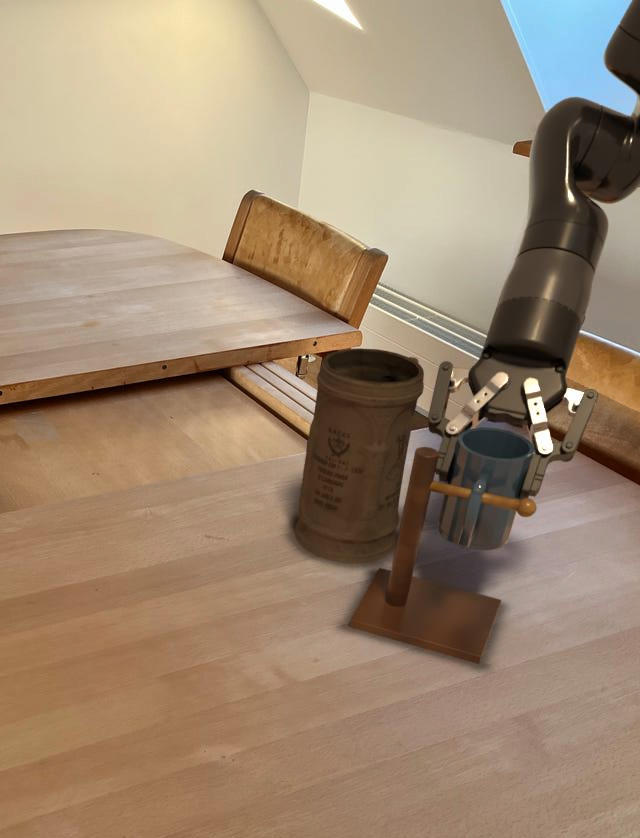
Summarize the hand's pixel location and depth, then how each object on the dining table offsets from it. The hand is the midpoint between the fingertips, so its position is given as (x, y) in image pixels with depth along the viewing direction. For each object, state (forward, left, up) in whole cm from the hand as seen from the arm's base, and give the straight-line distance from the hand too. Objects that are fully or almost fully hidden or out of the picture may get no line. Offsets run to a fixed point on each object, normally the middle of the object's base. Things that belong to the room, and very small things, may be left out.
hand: (483, 488), depth 85 cm
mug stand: (+2, +3, -13) cm, 14 cm away
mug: (0, 0, -5) cm, 5 cm away
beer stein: (+13, -10, -14) cm, 21 cm away
